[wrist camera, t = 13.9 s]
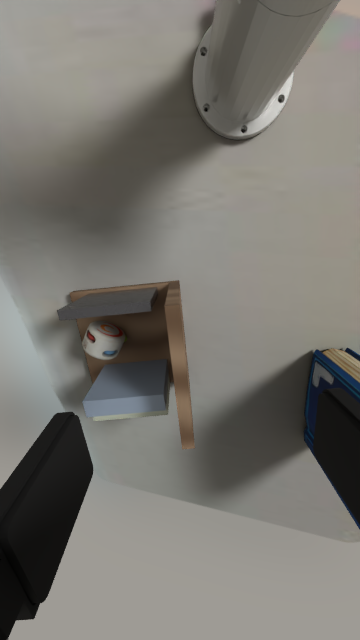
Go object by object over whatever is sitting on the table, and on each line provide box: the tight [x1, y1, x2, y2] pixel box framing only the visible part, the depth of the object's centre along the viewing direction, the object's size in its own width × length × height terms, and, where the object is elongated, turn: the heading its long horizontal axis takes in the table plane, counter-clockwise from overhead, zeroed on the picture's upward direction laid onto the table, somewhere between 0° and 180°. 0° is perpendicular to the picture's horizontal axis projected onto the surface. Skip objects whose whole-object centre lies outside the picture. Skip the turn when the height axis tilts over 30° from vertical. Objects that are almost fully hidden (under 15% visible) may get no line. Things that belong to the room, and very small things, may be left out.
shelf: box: [70, 281, 195, 449], centre depth 33 cm, size 18×18×16 cm
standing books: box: [82, 359, 170, 421], centre depth 36 cm, size 5×11×10 cm, turn 96°
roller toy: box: [82, 321, 127, 360], centre depth 36 cm, size 4×6×6 cm
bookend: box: [57, 287, 158, 320], centre depth 32 cm, size 1×11×10 cm, turn 96°
